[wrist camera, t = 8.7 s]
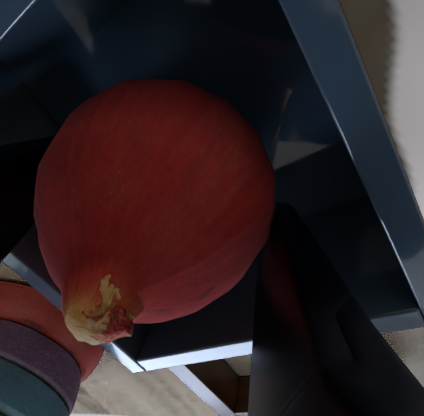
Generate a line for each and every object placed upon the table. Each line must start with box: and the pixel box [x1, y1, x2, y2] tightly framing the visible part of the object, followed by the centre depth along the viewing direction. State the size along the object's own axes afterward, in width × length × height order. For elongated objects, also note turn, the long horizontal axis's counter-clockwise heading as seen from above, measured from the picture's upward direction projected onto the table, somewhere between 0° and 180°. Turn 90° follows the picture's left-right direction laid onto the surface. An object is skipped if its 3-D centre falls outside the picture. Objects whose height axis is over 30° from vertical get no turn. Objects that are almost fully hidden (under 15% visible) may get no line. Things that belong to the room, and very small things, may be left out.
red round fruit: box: [33, 78, 275, 345], centre depth 8 cm, size 6×6×8 cm
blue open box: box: [0, 0, 424, 373], centre depth 10 cm, size 10×10×6 cm
